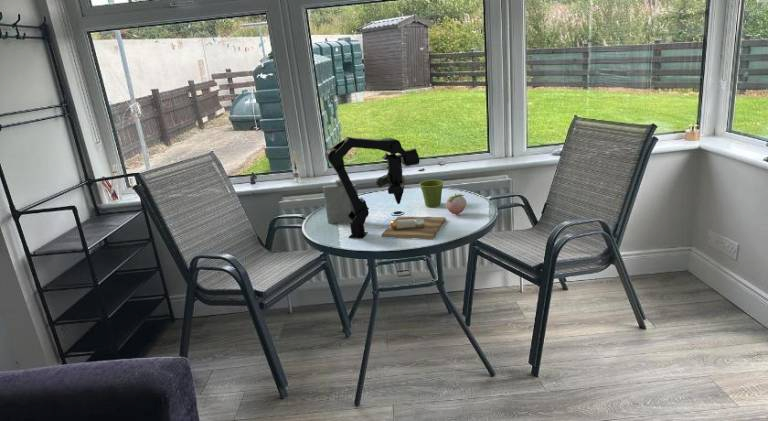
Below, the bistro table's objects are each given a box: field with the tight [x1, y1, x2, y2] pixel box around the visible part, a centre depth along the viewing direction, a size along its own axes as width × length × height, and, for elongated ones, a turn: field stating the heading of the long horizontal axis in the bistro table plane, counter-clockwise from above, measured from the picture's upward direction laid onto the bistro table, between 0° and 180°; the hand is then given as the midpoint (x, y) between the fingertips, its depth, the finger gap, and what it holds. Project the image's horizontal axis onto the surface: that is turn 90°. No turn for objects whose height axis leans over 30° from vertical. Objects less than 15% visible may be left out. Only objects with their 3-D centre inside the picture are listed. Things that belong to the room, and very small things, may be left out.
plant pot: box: [418, 179, 445, 208], centre depth 244 cm, size 12×12×11 cm
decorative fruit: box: [445, 193, 467, 216], centre depth 227 cm, size 9×8×10 cm
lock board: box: [381, 216, 447, 240], centre depth 217 cm, size 22×22×2 cm
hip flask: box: [322, 178, 359, 225], centre depth 233 cm, size 16×4×20 cm, turn 80°
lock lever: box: [390, 218, 424, 229], centre depth 214 cm, size 14×4×3 cm, turn 84°
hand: (398, 203), depth 218 cm, fingers closed
